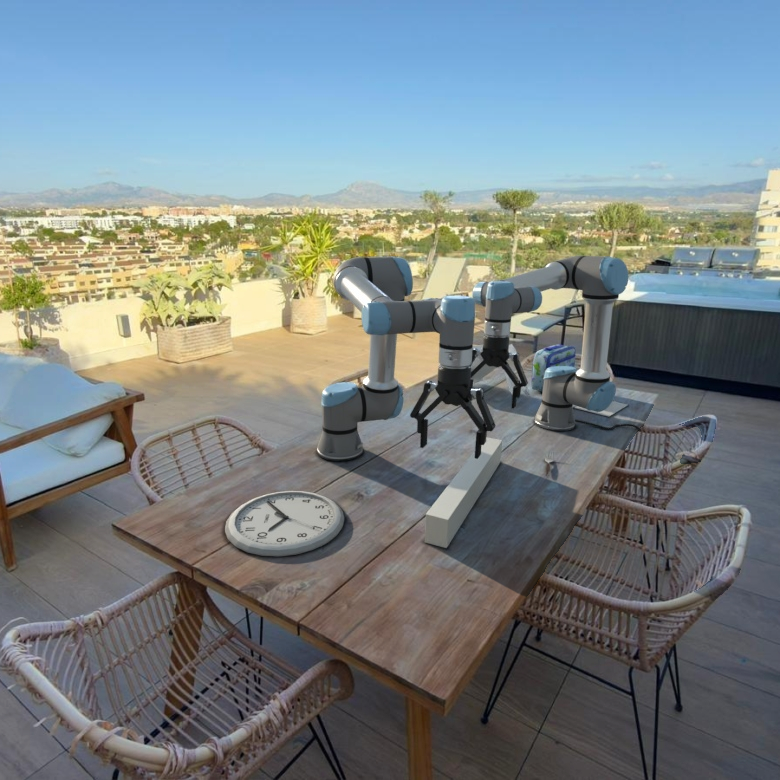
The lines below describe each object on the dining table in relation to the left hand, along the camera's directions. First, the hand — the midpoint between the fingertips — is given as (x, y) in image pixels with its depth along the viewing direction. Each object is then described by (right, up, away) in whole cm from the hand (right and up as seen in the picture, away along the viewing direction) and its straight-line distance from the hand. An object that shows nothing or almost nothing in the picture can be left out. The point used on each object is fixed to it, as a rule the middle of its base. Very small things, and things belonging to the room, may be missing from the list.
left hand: (450, 451), depth 125 cm
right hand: (+16, +10, +34) cm, 39 cm away
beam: (+8, -16, +24) cm, 30 cm away
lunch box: (+63, +15, +125) cm, 141 cm away
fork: (+37, -10, +43) cm, 57 cm away
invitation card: (+77, +7, +101) cm, 127 cm away
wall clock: (-41, -19, +9) cm, 46 cm away
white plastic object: (+27, +13, +118) cm, 122 cm away
